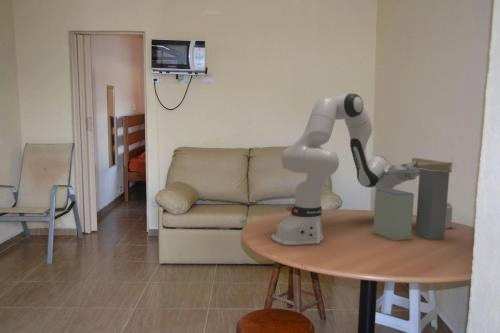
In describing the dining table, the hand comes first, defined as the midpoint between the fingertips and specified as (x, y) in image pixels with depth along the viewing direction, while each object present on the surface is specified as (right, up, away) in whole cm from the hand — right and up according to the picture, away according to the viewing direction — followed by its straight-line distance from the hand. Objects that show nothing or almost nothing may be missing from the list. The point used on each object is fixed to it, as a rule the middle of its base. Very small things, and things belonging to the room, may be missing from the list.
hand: (419, 162), depth 201 cm
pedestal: (+3, -33, -4) cm, 34 cm away
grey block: (-14, -33, -3) cm, 36 cm away
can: (+16, -32, +13) cm, 38 cm away
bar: (+3, -3, -6) cm, 7 cm away
